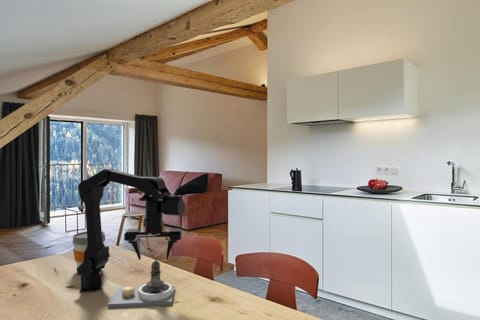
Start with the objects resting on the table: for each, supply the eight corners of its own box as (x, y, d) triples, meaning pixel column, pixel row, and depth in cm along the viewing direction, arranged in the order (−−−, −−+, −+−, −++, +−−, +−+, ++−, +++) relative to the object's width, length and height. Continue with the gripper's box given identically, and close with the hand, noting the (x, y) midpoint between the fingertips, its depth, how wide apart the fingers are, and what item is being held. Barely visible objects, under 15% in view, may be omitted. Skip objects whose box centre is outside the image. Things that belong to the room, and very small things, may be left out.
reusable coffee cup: (111, 268, 144) (111, 233, 144) (84, 277, 133) (84, 239, 133) (93, 263, 151) (93, 229, 150) (66, 271, 140) (66, 235, 140)
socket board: (107, 307, 108) (107, 297, 108) (117, 291, 121) (117, 282, 121) (171, 305, 110) (171, 295, 110) (174, 289, 123) (174, 280, 123)
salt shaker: (144, 297, 113) (145, 261, 113) (148, 290, 119) (148, 256, 118) (162, 297, 113) (163, 261, 113) (165, 290, 119) (165, 256, 119)
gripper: (182, 209, 125) (182, 251, 126) (130, 210, 123) (130, 252, 123) (181, 215, 114) (180, 261, 114) (123, 216, 112) (123, 262, 112)
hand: (153, 259), depth 116 cm, fingers open, 9 cm apart
